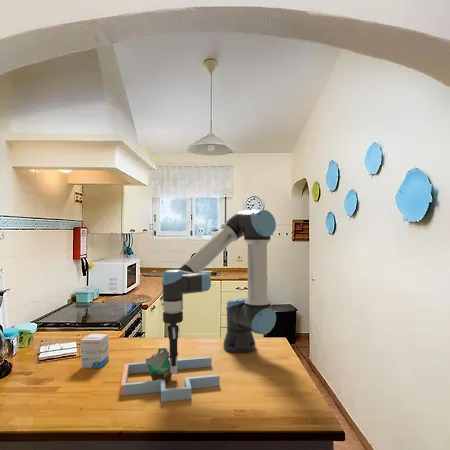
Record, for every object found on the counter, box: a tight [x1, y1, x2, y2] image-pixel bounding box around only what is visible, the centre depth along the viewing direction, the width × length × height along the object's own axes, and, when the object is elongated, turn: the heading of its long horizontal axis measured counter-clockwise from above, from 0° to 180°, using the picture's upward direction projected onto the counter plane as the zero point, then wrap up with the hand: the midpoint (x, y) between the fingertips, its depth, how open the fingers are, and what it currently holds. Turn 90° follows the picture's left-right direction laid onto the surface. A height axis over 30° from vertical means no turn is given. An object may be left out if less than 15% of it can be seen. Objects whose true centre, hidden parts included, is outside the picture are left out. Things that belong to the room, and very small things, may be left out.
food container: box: [145, 347, 173, 382], centre depth 136 cm, size 12×6×10 cm, turn 167°
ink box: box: [80, 333, 110, 369], centre depth 153 cm, size 9×8×12 cm
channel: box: [120, 356, 221, 403], centre depth 133 cm, size 34×28×4 cm
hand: (173, 373), depth 137 cm, fingers closed
